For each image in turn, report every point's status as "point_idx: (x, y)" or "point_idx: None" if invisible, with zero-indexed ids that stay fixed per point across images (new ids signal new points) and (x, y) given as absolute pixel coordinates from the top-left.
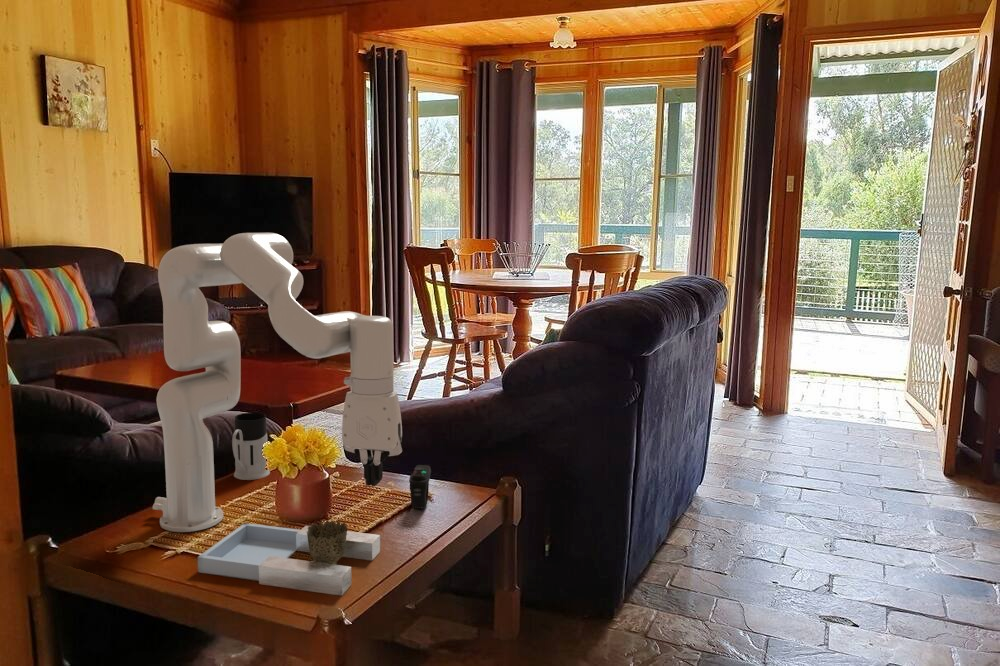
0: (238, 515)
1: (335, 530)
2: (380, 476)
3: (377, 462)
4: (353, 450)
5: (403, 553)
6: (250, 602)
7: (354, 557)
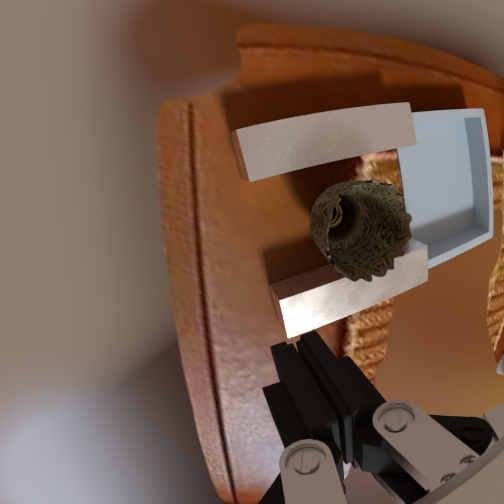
0: (499, 275)
1: (364, 267)
2: (269, 407)
3: (297, 461)
4: (493, 422)
5: (233, 338)
6: (356, 49)
7: (306, 272)
